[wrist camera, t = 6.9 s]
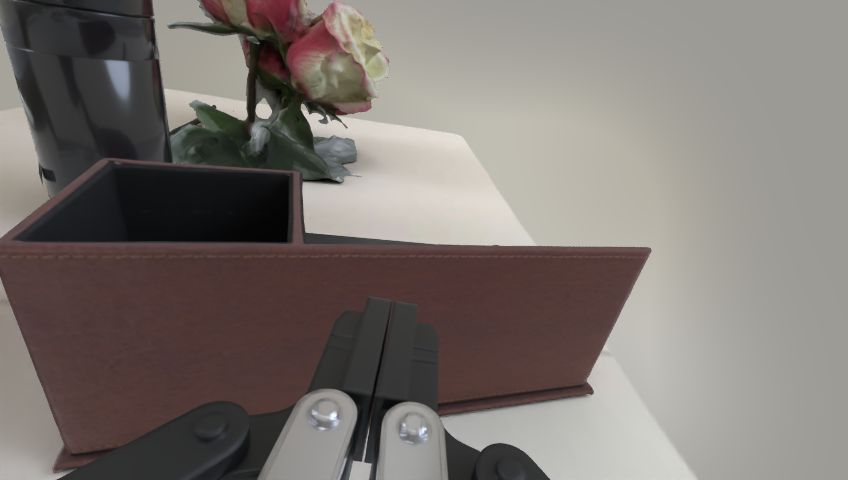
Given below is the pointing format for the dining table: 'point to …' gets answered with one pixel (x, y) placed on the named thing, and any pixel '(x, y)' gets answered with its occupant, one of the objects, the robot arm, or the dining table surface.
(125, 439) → the desk organizer
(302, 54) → the rose bouquet
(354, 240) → the tape line
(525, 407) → the dining table surface
